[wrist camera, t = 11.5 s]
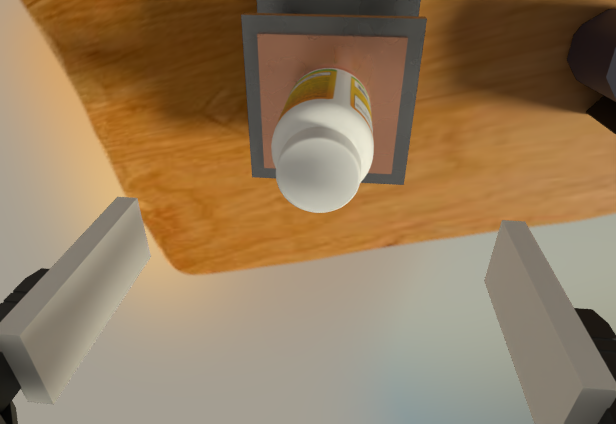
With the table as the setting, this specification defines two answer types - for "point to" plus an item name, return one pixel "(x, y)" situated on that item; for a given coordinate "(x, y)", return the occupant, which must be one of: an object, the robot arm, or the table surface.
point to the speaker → (597, 64)
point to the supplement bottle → (323, 140)
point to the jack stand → (335, 54)
